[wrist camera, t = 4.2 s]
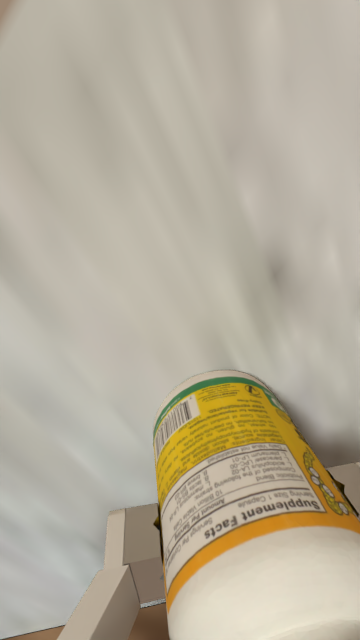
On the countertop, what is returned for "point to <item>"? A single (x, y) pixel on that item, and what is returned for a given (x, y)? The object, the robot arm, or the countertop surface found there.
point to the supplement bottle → (250, 520)
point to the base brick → (145, 634)
